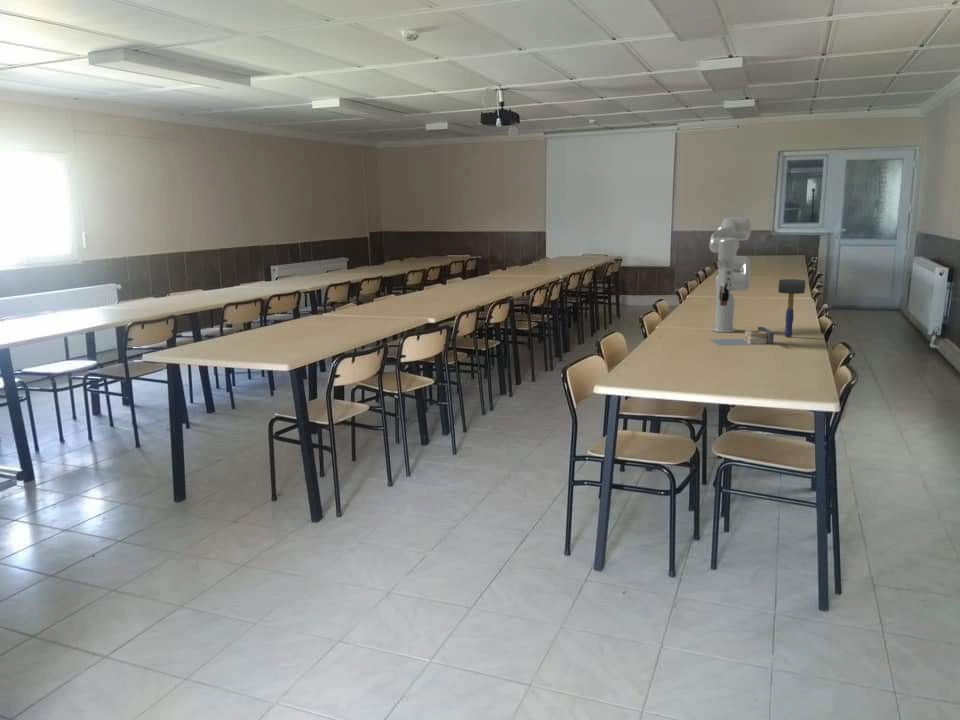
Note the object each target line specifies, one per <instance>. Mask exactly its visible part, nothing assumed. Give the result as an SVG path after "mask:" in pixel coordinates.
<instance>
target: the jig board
mask: <svg viewBox="0 0 960 720" xmlns="http://www.w3.org/2000/svg"><path fill="white" fill-rule="evenodd" d="M757 330H761V331H764V332H766V333H768V334H767V343H761V344H750V343H748V342H746V341H744V340H745V338H725V339H723V338H722V339H721V338H720V339H717V338H716V339H715V338H714V339H710V341H711V342H713V343H714V344H716V345H718V346H753V345H754V346H757V345H758V346H760V345H761V346H762V345H763V346H764V345H766V346H767V345H768V346H771V345H774V341H775V340H774V337H775V331H772V330H770V329H768V328H766V327H763V326H758V327H757Z"/></svg>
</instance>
